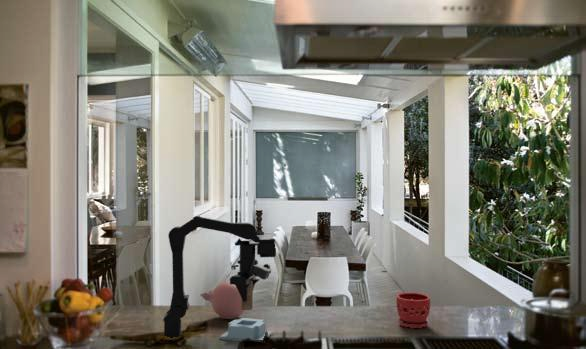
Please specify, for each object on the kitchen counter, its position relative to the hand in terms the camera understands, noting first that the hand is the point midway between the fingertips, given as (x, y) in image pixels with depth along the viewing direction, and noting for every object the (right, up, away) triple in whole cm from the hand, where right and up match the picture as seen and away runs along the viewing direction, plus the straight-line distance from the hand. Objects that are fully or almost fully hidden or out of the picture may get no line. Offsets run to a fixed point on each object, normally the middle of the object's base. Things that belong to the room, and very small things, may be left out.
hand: (247, 300), depth 185 cm
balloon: (-12, -14, +26) cm, 32 cm away
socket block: (0, -13, -1) cm, 13 cm away
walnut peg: (0, -3, 0) cm, 3 cm away
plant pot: (+65, -15, +17) cm, 68 cm away
